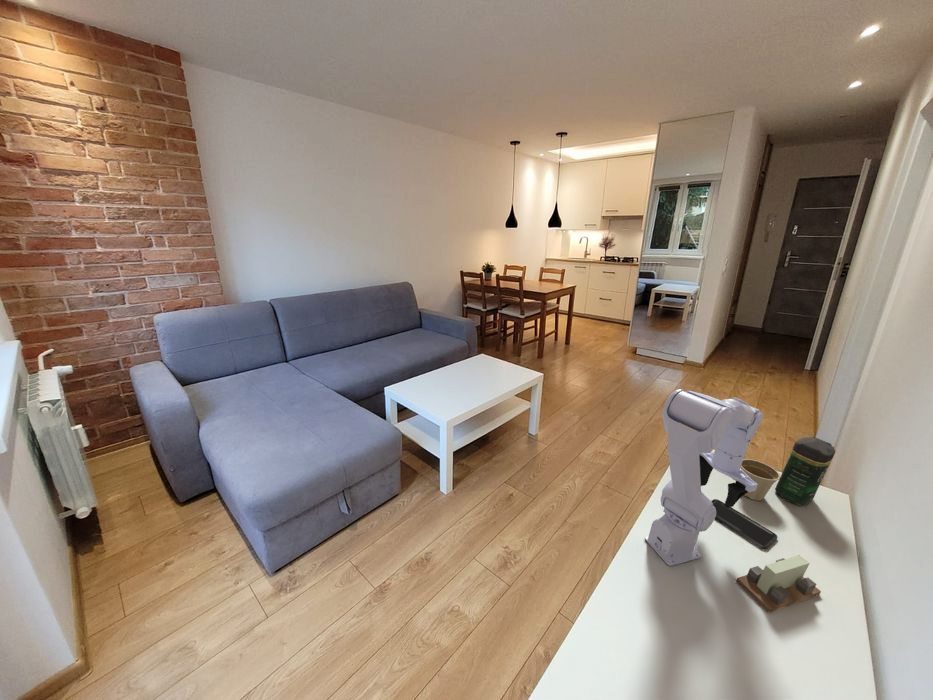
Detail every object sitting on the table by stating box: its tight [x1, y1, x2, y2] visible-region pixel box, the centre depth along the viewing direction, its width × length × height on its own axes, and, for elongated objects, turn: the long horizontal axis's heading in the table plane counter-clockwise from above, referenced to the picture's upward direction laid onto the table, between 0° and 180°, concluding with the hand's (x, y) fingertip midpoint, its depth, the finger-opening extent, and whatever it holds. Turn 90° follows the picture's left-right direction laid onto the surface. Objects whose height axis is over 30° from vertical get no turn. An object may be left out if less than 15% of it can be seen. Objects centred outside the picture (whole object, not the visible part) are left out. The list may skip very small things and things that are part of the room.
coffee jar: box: [774, 436, 836, 506], centre depth 103 cm, size 10×8×19 cm
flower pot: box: [740, 458, 781, 501], centre depth 105 cm, size 9×9×9 cm
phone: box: [710, 498, 778, 551], centre depth 95 cm, size 8×1×15 cm
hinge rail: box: [735, 557, 822, 613], centre depth 78 cm, size 15×7×4 cm, turn 106°
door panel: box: [757, 555, 810, 594], centre depth 77 cm, size 10×2×6 cm, turn 106°
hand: (714, 495), depth 91 cm, fingers open, 7 cm apart
